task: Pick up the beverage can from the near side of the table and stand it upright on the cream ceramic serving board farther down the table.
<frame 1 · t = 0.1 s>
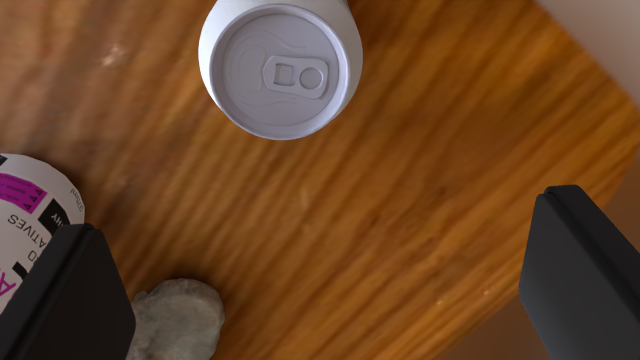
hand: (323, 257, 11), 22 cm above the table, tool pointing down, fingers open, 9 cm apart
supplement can: (31, 196, 36), on the table
beverage can: (286, 5, 30), on the table
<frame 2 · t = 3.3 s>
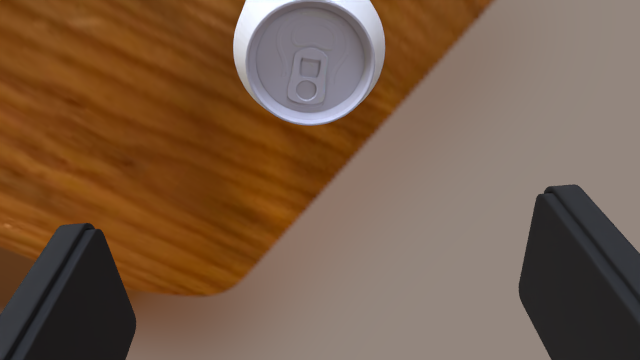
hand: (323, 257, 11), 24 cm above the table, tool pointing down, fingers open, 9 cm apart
beverage can: (305, 1, 31), on the table
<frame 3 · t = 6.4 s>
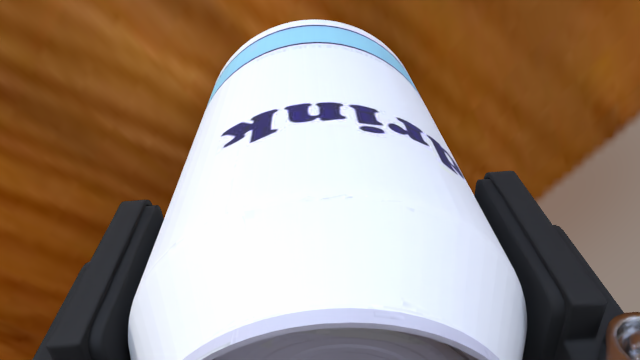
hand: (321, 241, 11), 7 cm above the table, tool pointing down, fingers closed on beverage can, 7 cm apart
beverage can: (313, 109, 18), on the table, touching gripper
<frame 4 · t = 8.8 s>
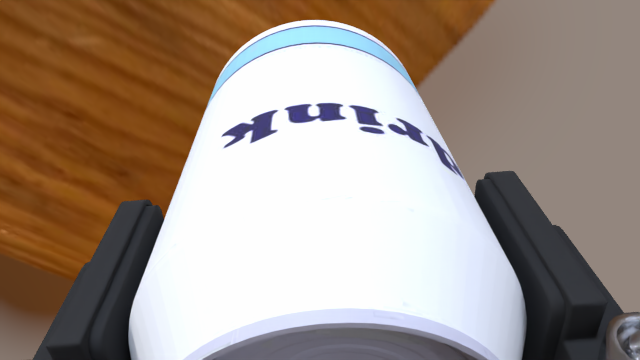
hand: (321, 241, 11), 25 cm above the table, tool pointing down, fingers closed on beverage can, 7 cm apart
beverage can: (313, 109, 18), point 17 cm above the table, touching gripper
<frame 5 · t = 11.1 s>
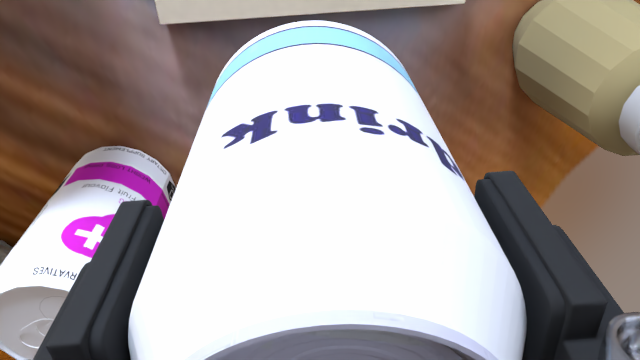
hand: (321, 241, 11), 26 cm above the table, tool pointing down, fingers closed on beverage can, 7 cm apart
squeeze bottle: (551, 35, 35), on the table
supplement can: (128, 184, 41), on the table
beverage can: (313, 110, 18), point 18 cm above the table, touching gripper
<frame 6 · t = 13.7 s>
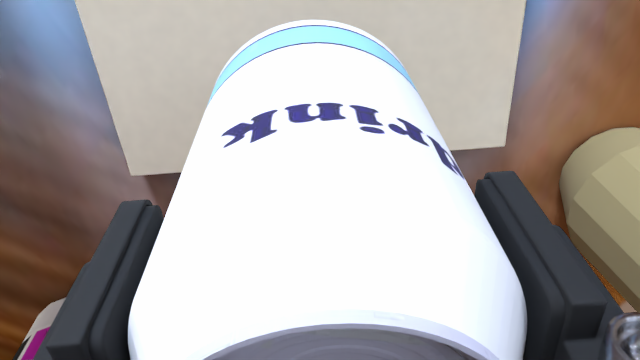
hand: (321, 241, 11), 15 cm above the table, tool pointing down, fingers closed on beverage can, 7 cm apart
serving board: (308, 41, 24), on the table
squeeze bottle: (605, 168, 29), on the table
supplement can: (103, 327, 35), on the table
beverage can: (313, 109, 18), point 8 cm above the table, touching gripper
when the fingers open (9 cm above the table, at t = 15.9 s): beverage can stays where it is, resting on serving board.
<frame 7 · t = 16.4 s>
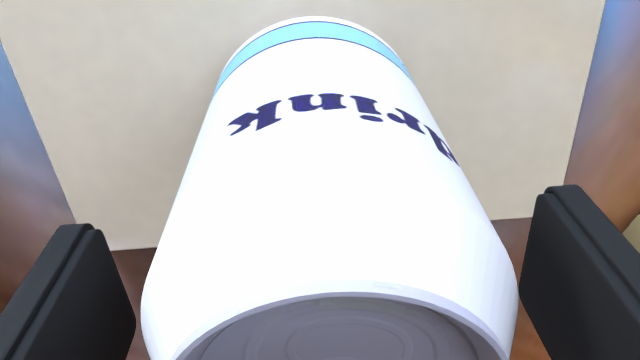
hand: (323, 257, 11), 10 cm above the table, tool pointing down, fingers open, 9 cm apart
serving board: (310, 88, 19), on the table
beverage can: (314, 104, 18), point 1 cm above the table, touching serving board
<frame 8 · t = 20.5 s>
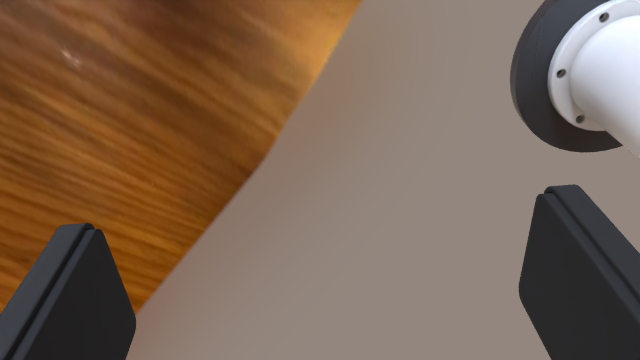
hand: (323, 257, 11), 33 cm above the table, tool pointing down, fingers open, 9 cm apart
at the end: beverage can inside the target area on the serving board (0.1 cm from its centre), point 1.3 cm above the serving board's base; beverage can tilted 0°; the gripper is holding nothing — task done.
